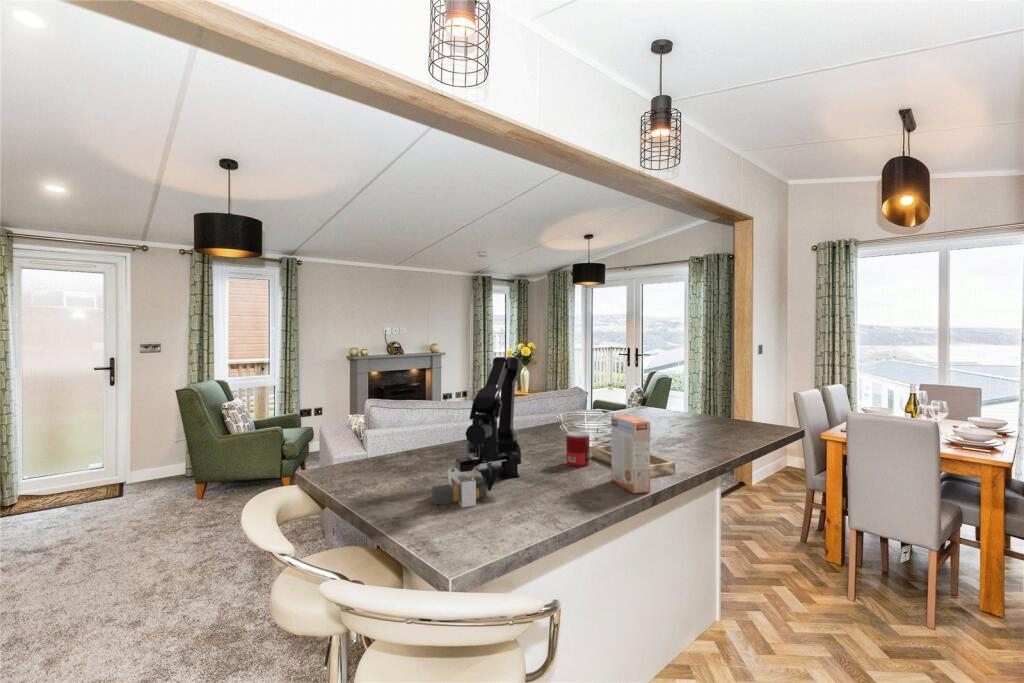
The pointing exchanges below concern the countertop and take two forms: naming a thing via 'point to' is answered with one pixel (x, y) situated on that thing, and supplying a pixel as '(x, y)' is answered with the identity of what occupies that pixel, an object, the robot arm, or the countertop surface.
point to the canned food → (578, 449)
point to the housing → (463, 487)
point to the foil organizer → (656, 463)
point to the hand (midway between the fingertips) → (488, 490)
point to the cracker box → (631, 453)
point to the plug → (454, 493)
